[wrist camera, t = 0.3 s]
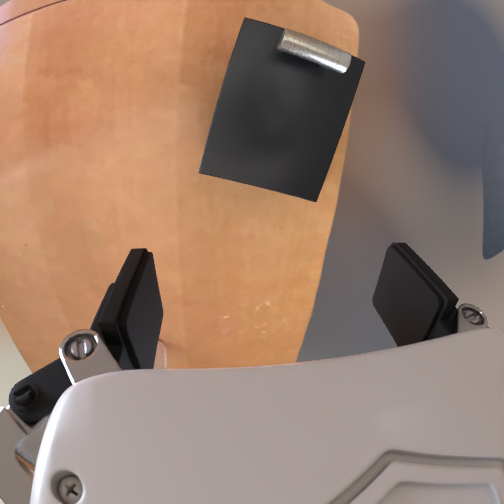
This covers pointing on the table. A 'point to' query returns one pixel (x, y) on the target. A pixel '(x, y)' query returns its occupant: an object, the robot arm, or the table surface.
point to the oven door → (280, 110)
